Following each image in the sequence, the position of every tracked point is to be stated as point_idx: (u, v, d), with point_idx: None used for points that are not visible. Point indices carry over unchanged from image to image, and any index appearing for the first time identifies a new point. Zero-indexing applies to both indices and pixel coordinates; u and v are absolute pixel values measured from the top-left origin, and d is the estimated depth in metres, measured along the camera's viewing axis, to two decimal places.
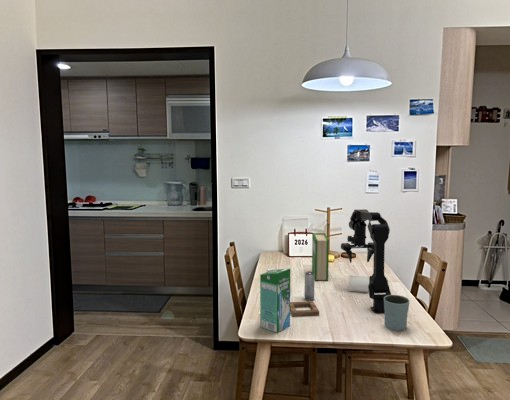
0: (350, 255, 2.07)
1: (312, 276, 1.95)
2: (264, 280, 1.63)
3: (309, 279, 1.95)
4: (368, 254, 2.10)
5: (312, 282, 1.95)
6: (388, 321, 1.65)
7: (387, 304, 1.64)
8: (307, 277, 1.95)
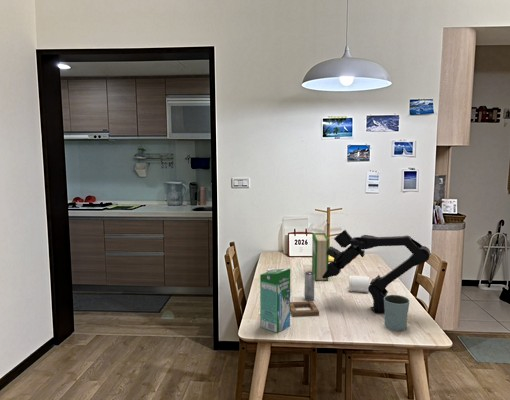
0: None
1: (312, 276, 1.95)
2: (264, 280, 1.63)
3: (309, 279, 1.95)
4: None
5: (312, 282, 1.95)
6: (388, 321, 1.65)
7: (387, 304, 1.64)
8: (307, 277, 1.95)
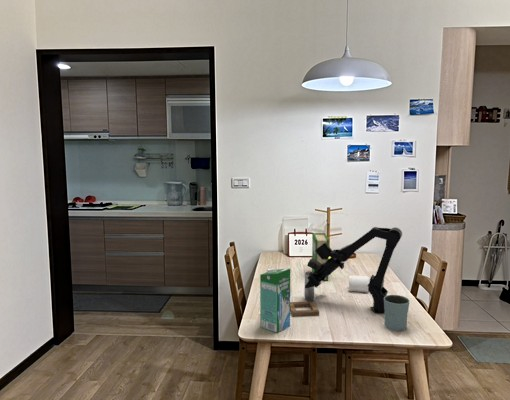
0: None
1: None
2: (264, 280, 1.63)
3: None
4: None
5: None
6: (388, 321, 1.65)
7: (387, 304, 1.64)
8: None
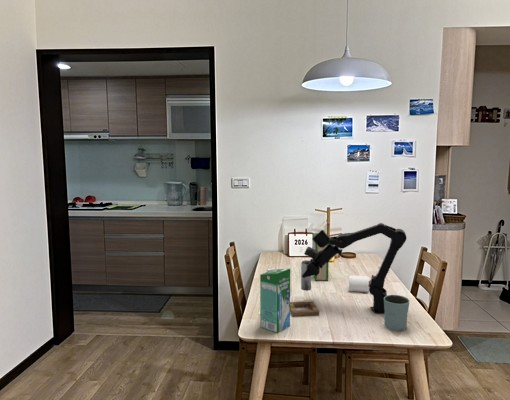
0: None
1: None
2: (264, 280, 1.63)
3: (306, 268, 1.89)
4: None
5: None
6: (388, 321, 1.65)
7: (387, 304, 1.64)
8: (304, 266, 1.90)
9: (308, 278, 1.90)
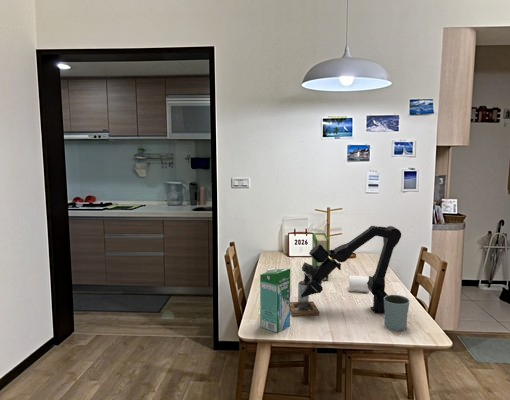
0: None
1: None
2: (264, 280, 1.63)
3: None
4: None
5: None
6: (388, 321, 1.65)
7: (387, 304, 1.64)
8: (303, 287, 1.80)
9: (307, 300, 1.81)
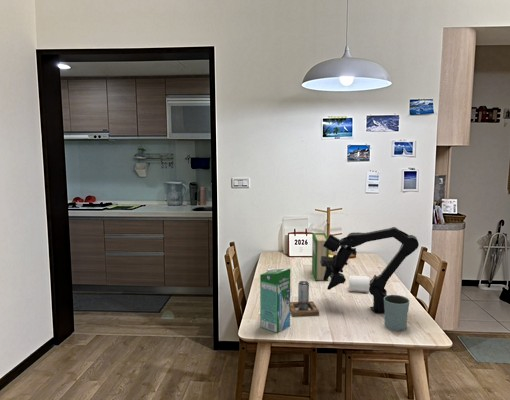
0: None
1: (308, 286, 1.81)
2: (264, 280, 1.63)
3: (305, 289, 1.80)
4: (328, 272, 1.94)
5: (308, 292, 1.82)
6: (388, 321, 1.65)
7: (387, 304, 1.64)
8: (303, 287, 1.80)
9: (307, 300, 1.81)
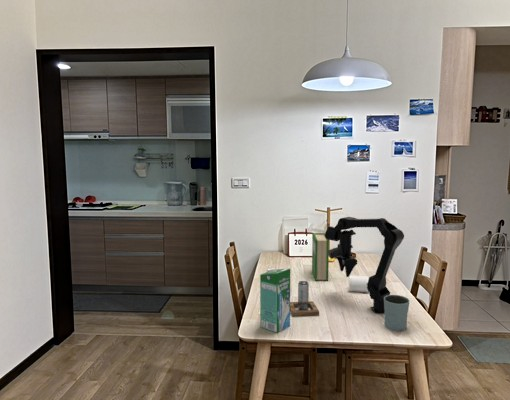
0: None
1: (307, 286, 1.81)
2: (264, 280, 1.63)
3: (305, 289, 1.80)
4: (342, 262, 2.01)
5: (307, 292, 1.82)
6: (388, 321, 1.65)
7: (387, 304, 1.64)
8: (303, 287, 1.80)
9: (306, 300, 1.81)
